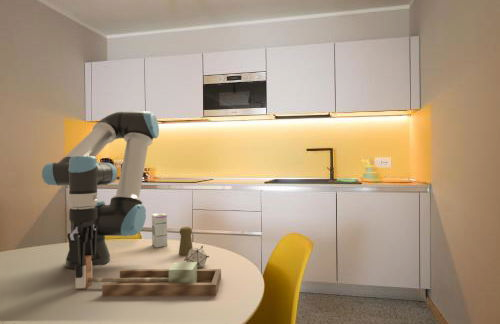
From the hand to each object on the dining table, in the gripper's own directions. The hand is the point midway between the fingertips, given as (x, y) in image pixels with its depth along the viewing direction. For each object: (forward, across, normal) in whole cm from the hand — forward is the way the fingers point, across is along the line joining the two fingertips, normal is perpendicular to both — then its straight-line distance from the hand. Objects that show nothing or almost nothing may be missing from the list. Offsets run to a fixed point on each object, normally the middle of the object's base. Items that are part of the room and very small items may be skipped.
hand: (84, 285), depth 95 cm
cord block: (+1, 0, -16) cm, 16 cm away
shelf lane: (+2, 0, -25) cm, 25 cm away
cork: (+2, +38, -23) cm, 44 cm away
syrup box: (+2, +51, -8) cm, 52 cm away
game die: (+2, +18, -31) cm, 36 cm away
